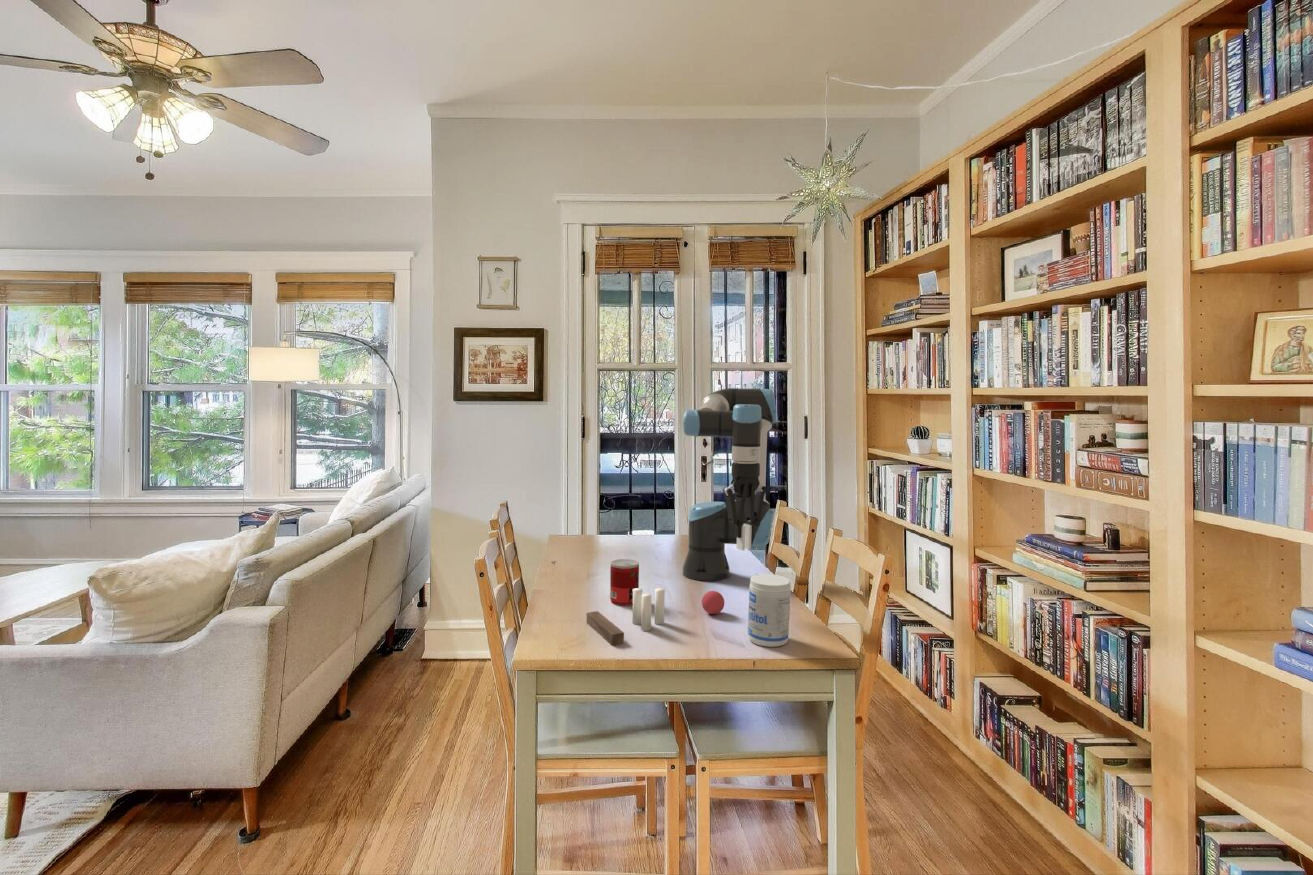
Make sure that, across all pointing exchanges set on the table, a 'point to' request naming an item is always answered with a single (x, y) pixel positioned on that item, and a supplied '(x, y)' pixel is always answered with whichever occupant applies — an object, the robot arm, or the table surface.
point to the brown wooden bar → (605, 628)
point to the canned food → (623, 581)
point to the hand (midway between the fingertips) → (743, 548)
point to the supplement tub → (769, 610)
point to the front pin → (659, 606)
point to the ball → (713, 602)
